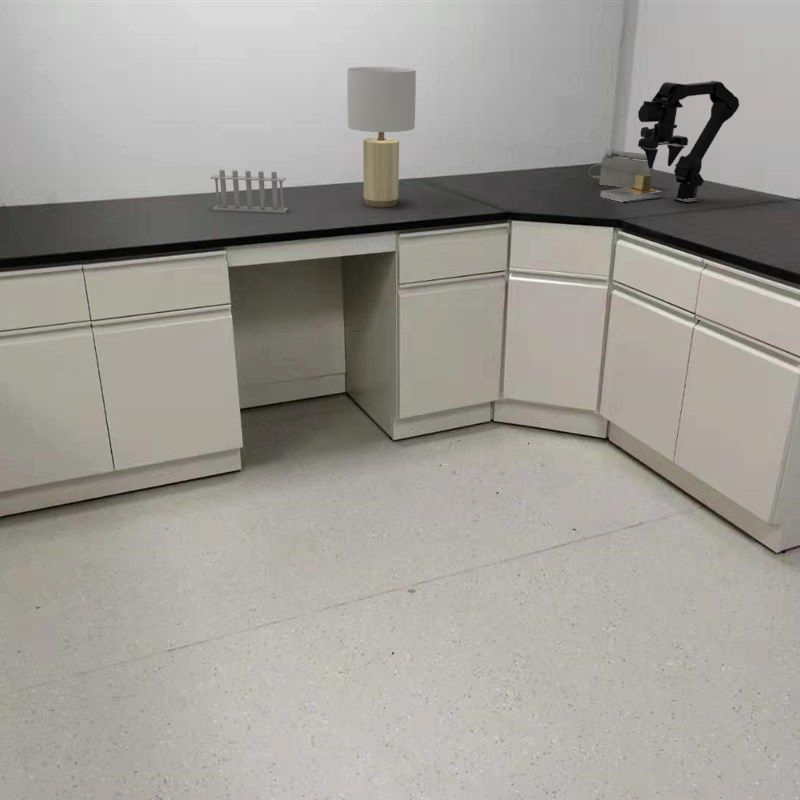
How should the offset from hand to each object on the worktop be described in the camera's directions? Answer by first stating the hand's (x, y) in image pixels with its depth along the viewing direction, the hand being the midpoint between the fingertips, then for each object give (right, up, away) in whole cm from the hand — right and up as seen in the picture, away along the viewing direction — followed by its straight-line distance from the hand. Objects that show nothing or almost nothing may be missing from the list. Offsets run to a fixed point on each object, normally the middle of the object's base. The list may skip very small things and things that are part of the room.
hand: (659, 167), depth 295 cm
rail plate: (-6, -8, +14) cm, 17 cm away
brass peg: (-2, -7, +16) cm, 17 cm away
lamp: (-99, -14, -1) cm, 100 cm away
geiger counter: (-7, +1, +31) cm, 32 cm away
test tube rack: (-144, -18, -12) cm, 145 cm away
